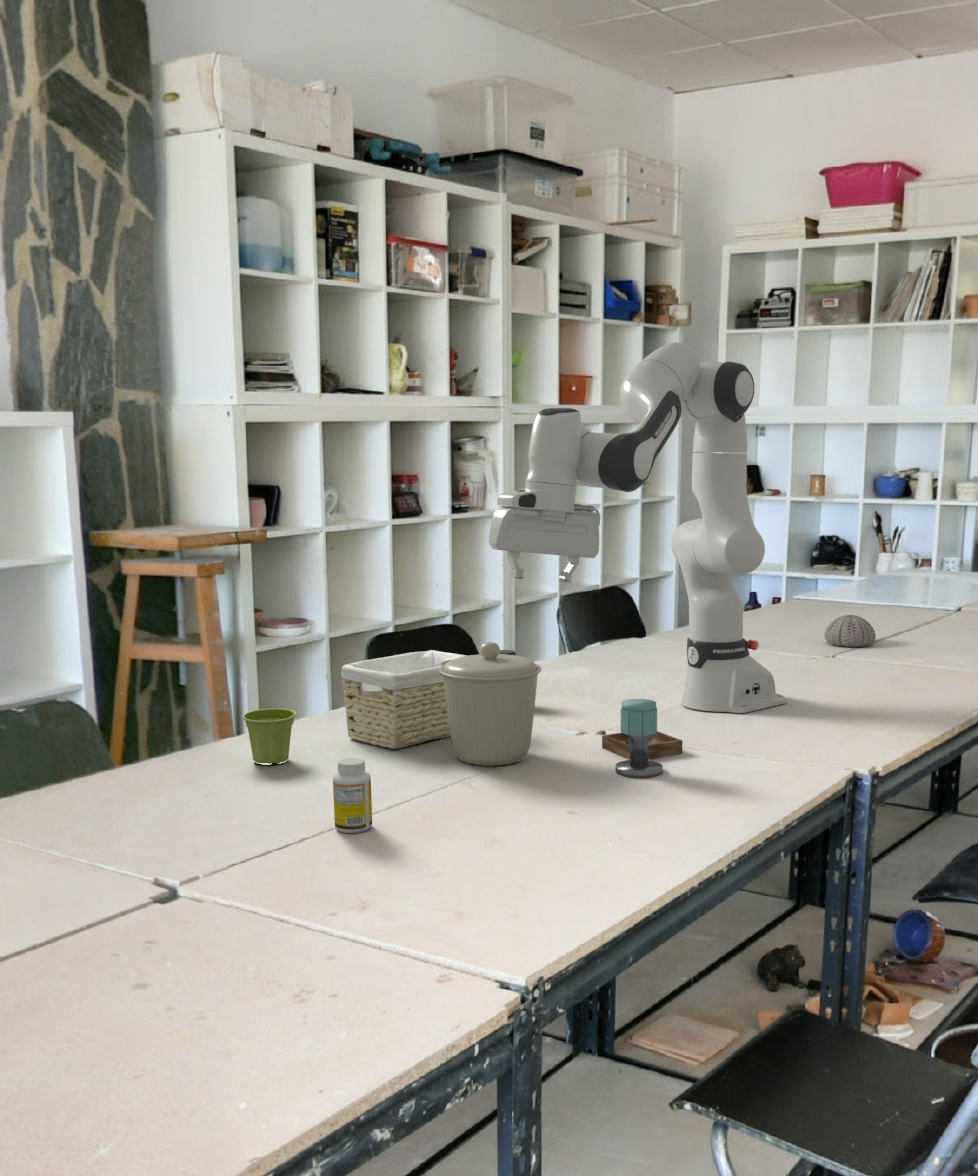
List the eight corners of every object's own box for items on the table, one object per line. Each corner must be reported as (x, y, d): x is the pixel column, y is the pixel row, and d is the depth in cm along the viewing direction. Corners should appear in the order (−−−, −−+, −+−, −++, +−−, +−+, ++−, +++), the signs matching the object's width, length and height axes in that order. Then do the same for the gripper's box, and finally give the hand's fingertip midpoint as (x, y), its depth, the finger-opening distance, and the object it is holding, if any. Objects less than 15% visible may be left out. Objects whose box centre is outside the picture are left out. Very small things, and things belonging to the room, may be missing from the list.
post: (645, 762, 209) (645, 701, 208) (672, 773, 202) (672, 710, 201) (606, 769, 206) (606, 706, 204) (632, 780, 199) (632, 715, 197)
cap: (643, 725, 207) (643, 697, 206) (663, 732, 202) (663, 703, 201) (615, 729, 204) (615, 701, 204) (634, 737, 199) (634, 707, 199)
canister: (474, 778, 201) (472, 655, 199) (422, 755, 217) (419, 640, 214) (562, 762, 211) (561, 643, 208) (506, 740, 226) (504, 630, 223)
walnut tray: (649, 740, 224) (649, 728, 224) (682, 753, 215) (682, 740, 215) (602, 748, 220) (602, 735, 219) (633, 761, 210) (633, 748, 210)
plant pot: (307, 756, 217) (305, 710, 216) (281, 770, 208) (279, 722, 207) (261, 753, 220) (259, 706, 219) (234, 766, 211) (232, 718, 210)
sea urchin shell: (867, 650, 312) (868, 620, 311) (816, 646, 320) (817, 616, 319) (881, 643, 323) (882, 613, 322) (831, 639, 331) (832, 610, 330)
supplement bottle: (354, 819, 181) (352, 753, 180) (380, 827, 177) (378, 759, 176) (326, 829, 177) (324, 761, 175) (352, 837, 173) (350, 768, 172)
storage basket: (430, 717, 246) (428, 647, 244) (487, 730, 235) (485, 656, 233) (339, 740, 229) (336, 664, 227) (395, 754, 218) (393, 675, 216)
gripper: (592, 505, 215) (584, 582, 216) (489, 494, 206) (481, 574, 207) (610, 507, 209) (601, 585, 210) (505, 495, 200) (496, 578, 201)
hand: (541, 580), depth 208 cm, fingers open, 8 cm apart
